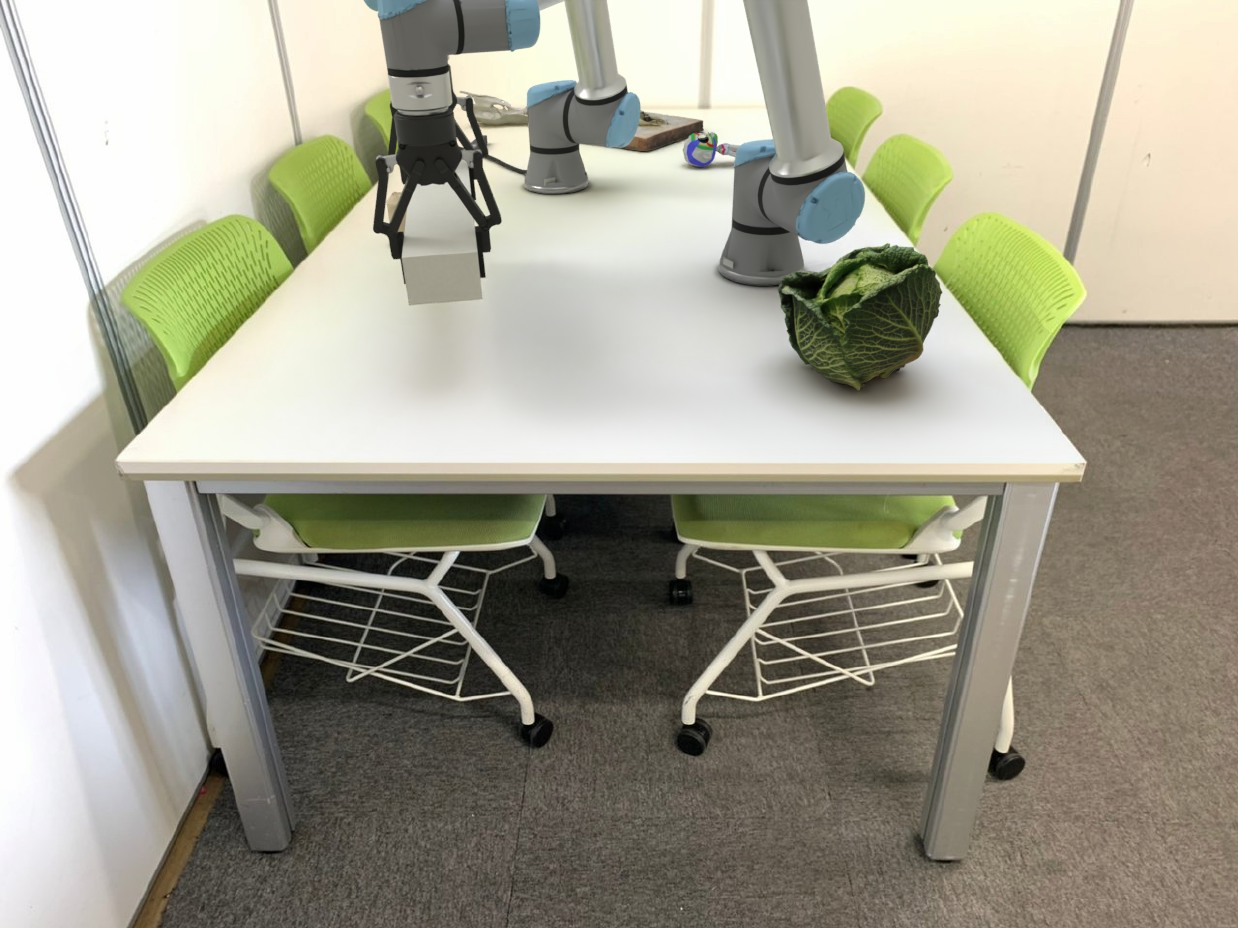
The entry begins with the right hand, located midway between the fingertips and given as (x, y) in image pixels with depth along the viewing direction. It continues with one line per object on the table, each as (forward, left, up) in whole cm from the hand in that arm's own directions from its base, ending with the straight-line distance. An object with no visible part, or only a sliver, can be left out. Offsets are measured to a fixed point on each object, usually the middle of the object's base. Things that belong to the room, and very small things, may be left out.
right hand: (445, 277), depth 125 cm
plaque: (-135, -70, -14) cm, 153 cm away
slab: (-13, -15, -1) cm, 20 cm away
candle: (-33, -50, -14) cm, 61 cm away
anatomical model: (-125, -115, -14) cm, 171 cm away
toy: (-125, -28, -14) cm, 129 cm away
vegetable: (-33, +48, -14) cm, 60 cm away
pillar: (-95, -94, -14) cm, 134 cm away
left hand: (-26, -29, 0) cm, 39 cm away
